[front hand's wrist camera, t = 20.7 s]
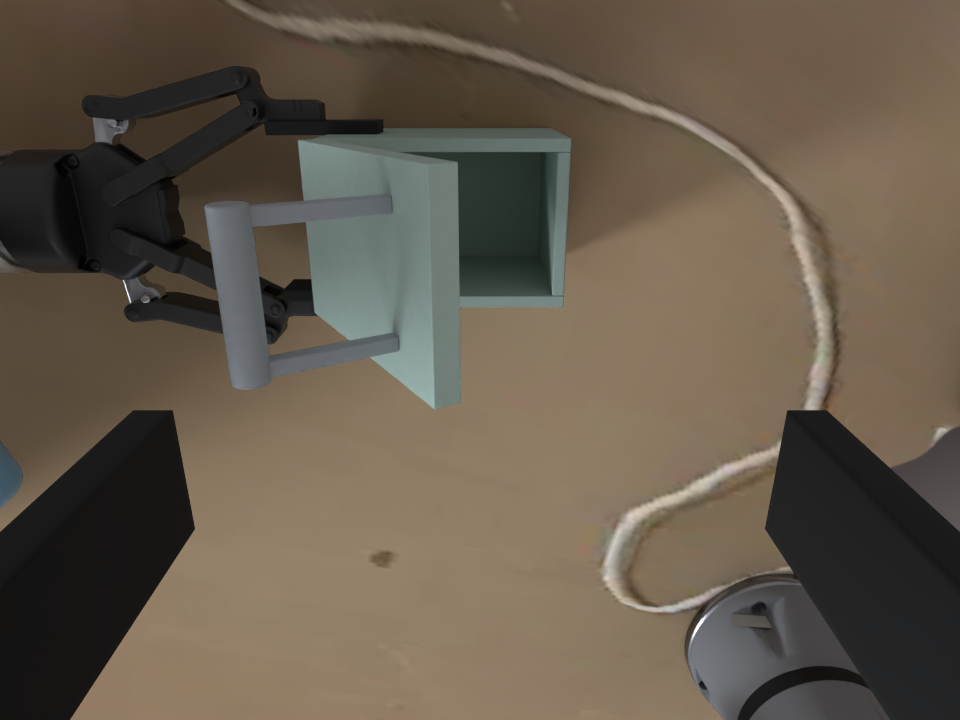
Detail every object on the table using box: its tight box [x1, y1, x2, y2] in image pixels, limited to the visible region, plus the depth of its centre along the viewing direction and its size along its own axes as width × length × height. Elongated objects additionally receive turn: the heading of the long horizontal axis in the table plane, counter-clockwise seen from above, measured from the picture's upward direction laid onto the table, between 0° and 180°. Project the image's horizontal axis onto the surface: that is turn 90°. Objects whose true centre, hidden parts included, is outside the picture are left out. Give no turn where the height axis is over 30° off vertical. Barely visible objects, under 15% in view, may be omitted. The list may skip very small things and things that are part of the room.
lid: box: [204, 139, 461, 409], centre depth 29 cm, size 15×9×8 cm
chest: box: [313, 128, 571, 307], centre depth 42 cm, size 14×9×11 cm
